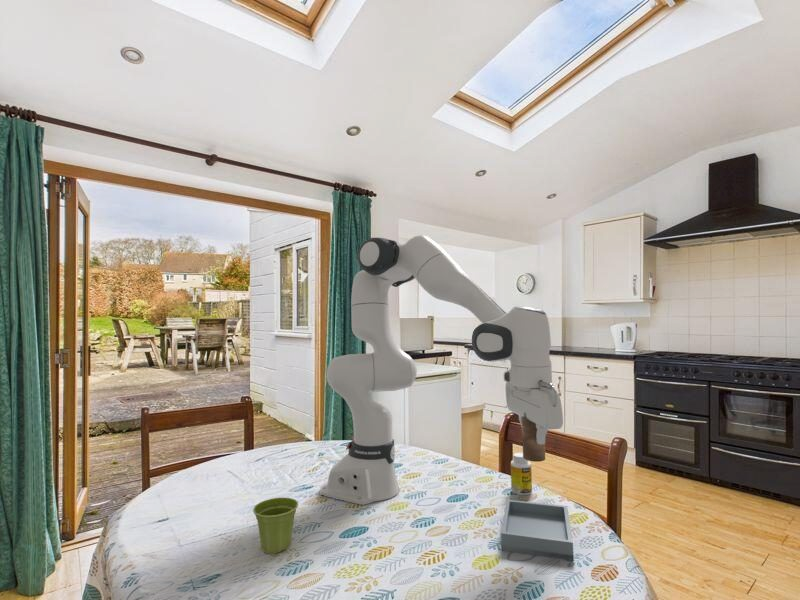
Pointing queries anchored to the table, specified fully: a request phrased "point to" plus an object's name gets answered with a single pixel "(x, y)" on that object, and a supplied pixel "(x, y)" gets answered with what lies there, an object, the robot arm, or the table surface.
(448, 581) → the table surface
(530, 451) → the shaker
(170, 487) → the table surface
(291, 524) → the plant pot
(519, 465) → the supplement bottle
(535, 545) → the tray
